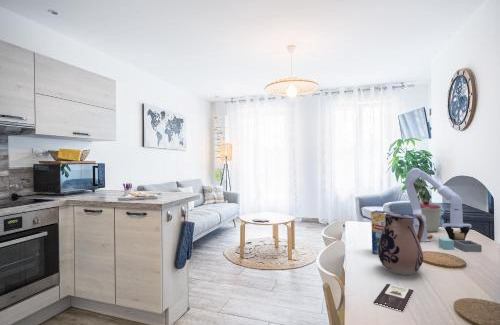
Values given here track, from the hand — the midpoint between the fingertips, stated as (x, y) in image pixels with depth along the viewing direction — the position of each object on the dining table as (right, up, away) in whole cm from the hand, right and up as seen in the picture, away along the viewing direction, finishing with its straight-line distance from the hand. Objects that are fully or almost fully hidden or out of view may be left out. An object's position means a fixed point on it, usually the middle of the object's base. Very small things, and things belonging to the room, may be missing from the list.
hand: (456, 239), depth 157 cm
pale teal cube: (-11, -3, -7) cm, 13 cm away
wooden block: (0, -3, 0) cm, 2 cm away
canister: (+3, -3, +32) cm, 32 cm away
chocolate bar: (-67, -5, -59) cm, 89 cm away
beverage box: (-48, -4, -14) cm, 50 cm away
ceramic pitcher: (-51, -4, -36) cm, 62 cm away
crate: (-1, -2, -9) cm, 9 cm away
